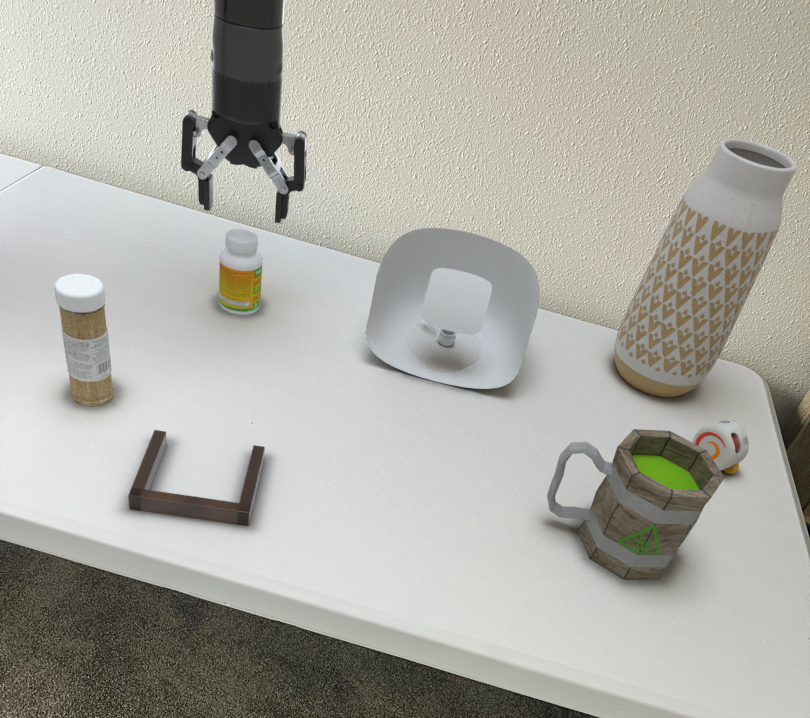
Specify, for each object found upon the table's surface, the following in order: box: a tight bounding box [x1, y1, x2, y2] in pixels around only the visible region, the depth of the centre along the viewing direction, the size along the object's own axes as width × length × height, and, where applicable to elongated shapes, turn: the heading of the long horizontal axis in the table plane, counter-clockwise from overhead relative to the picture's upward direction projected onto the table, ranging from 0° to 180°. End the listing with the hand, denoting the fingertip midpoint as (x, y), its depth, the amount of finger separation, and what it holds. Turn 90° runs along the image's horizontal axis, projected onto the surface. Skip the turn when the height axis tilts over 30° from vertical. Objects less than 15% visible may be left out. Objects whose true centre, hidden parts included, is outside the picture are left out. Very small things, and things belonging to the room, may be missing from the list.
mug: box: [546, 428, 725, 581], centre depth 81 cm, size 16×11×12 cm
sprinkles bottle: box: [53, 273, 115, 407], centre depth 81 cm, size 5×5×13 cm
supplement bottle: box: [218, 228, 263, 316], centre depth 101 cm, size 5×5×10 cm
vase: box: [613, 137, 797, 398], centre depth 100 cm, size 14×14×31 cm
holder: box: [127, 429, 266, 527], centre depth 79 cm, size 11×10×2 cm
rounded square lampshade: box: [365, 227, 540, 390], centre depth 103 cm, size 20×19×12 cm
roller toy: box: [691, 419, 750, 475], centre depth 97 cm, size 4×6×6 cm
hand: (243, 214), depth 96 cm, fingers open, 8 cm apart
